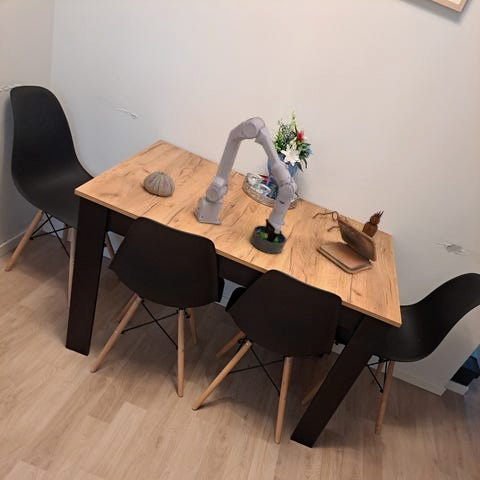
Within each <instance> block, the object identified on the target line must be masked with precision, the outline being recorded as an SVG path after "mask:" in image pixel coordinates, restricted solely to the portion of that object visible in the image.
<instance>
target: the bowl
mask: <svg viewBox="0 0 480 480" xmlns="http://www.w3.org/2000/svg"><path fill="white" fill-rule="evenodd" d="M265 230H266V225H256V226H254V228H253V230H252V233H251V236H250V242H251V244H252V245H253V246H254V247H255V248H256V249H258V250H260V251H262V252H264V253H268V254H279V253H282V252H283V249H284V247H285V244H286V242H287V237H286V236H285V235H284V234H283V233H281V234H280V235H279V236H277V239H278V243H272V242H269V241H267V240H264V239H263V238H261V237H260V236H258V234H260V232H263V233H265Z"/></svg>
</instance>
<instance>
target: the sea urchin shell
mask: <svg viewBox="0 0 480 480" xmlns="http://www.w3.org/2000/svg"><path fill="white" fill-rule="evenodd" d="M143 179H144V180H143V186H144V188H145V190H147V192H149V193H151V194H153V195H158V196H161V197H162V196H163V197H169V196H172V195H173V194H174V193H175V191H176V184H175V182H174V181H173V178H172V177H171V176H170V175H169V174H168V173H166V172H163V171H160V170H158V171H154V172H152V173H150V174H148V175H146V176H145V178H143Z"/></svg>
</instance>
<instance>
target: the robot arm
mask: <svg viewBox="0 0 480 480" xmlns="http://www.w3.org/2000/svg"><path fill="white" fill-rule="evenodd" d="M244 140H253V142H254V143H256V144H258V145H260V146H262V148H263V150H264V153H265V155H266V156H267V158H268V160H269V162H270V164H271V168H270V171H271V174H272V176H273V177H274V180H275V183H276V184H277V186H278V187H279V188H278V194H277V197H276V199H275V201H274V204H273V206H272V209H271V211H270V212H269V215H268V218H265V226H266V230H265V233H267V234H268V236H267V241H269V242H272V243H273V241H274V240H275V239H276V237H277V236H279V235H280V234H281V233H282V226H286V221H284V220H285V218H286V215H287V213H288V211H289V208H290V206H291V204H292V203H291V202H292V200H293V197H294V195H295V193H296V192H297V189H298V185H297V184H298V183H297V181H296V180H294V177H292V175H291V173H290V171H289V164H286V162H285V161H282V160H281V159H280V157H279V154H278V152H277V148H276V146H275V144H274V141H273V139H272V137H271V134H270V130H269V127H268V126H266V122H265V121H264V119H263V118H261V117H260V116H255V117H251V118H248V119H246V120H244V121H241V122H240V123H238V124H237V126H235V127H234V128H232V129H231V130H230V132H229V134H228V137H227V140H226V143H225V146H224V149H223V152H222V155H221V158H220V160H219V165H218V167H217V170H216V174H215V176H214V178H213V179H212V181H211V182H210V184H209V186H208V187H207V188H206V190H205V196H200V197H198V200H197V203H196V206H195V210H194V211H193V212H194V215H195V217H196V219H197V220H198V222H199V223H205V224H213V225H214V224H215V225H221V222H220V220H219V216H220V213H221V211H222V208H223V204H224V197H225V196H226V195H227V194H228V191H229V182H230V179H229V178H230V175H231V172H232V169H233V167H234V164H235V161H236V158H237V155H238V152H239V149H240V146H241V145H242V142H243V141H244ZM282 234H283V233H282Z"/></svg>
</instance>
